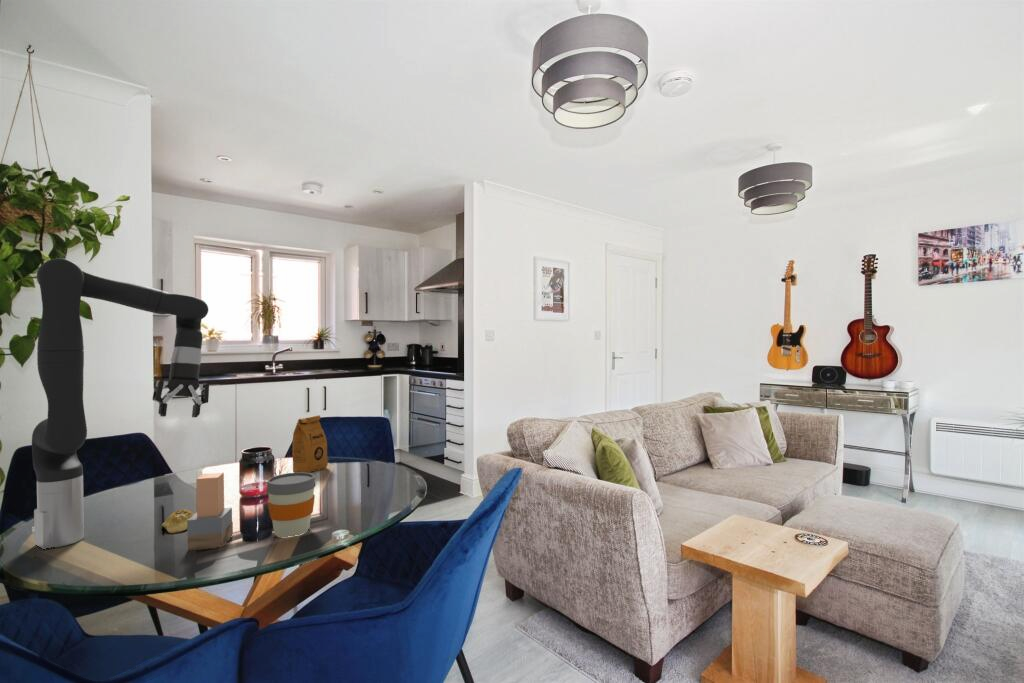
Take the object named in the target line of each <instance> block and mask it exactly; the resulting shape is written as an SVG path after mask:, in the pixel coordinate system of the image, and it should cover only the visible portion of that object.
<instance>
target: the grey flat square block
mask: <svg viewBox="0 0 1024 683" xmlns="http://www.w3.org/2000/svg"><path fill="white" fill-rule="evenodd" d="M232 522H233V507H224V510H223V511H222V512H221V513H220V514H219V516H207V517H197V511H196V512H195V513H194V515H193V516H192V517H191V518H189V519H188V520H187V530H186V531H187V534H186V535H187V537H188V536H192V535H205V534H217V533H222V532H223V531H224V530H225V529H226V528H227V527H228V526H229V525H230V524H231V523H232Z"/></svg>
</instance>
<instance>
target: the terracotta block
mask: <svg viewBox="0 0 1024 683" xmlns="http://www.w3.org/2000/svg"><path fill="white" fill-rule="evenodd" d="M224 475H225V474H224V472H213V473H212V472H211V473H202V474H200V476H198V477H197V478H196V481H195V482H196V512H197V517H207V516H219V514H220V513H221V512H222V511H223V510H224V508H225V480H224V479H225V476H224Z"/></svg>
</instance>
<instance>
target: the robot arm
mask: <svg viewBox="0 0 1024 683" xmlns="http://www.w3.org/2000/svg"><path fill="white" fill-rule="evenodd" d="M36 281H37V284H38V285H39V290H40V296H41V305H42V314H41V319H40V320H41V321H40V325H39V329H38V330H39V331H38V336H37V337H38V338H37V345H36V346H37V348H36V350H37V353H36V354H37V356H36V357H37V362H36V364H37V372H38V376H39V378H40V381H41V384H42V388H43V390H44V392H45V395H46V400H47V418H45V419H43V420H42V421H40V422H39V423H38V424H36V426H35V427H34V429H33V431H32V436H31V453H32V465H33V466H32V467H33V470H34V471H35V472H34V473H35V476H36V505H37V506H36V508H35V509H33V510H34V511H33V521H34V522H33V523H34V525H33V526H34V528H33V529H34V530H33V531H34V533H33V534H34V545H35V544H36V545H37V546H39V547H41V548H42V549H41V548H40V549H41V550H43V549H45V550H47V549H46V548H49V549H53V547H55V548H60V547H65V546H69V545H72V544H75V543H77V542H80V541H81V540H83V539H84V538H85V524H84V522H85V521H84V520H85V519H84V517H85V516H84V468H83V467H84V466H83V464H82V463H81V461H80V460H79V458H78V454H77V451H78V450H79V449H80V448H81V447H82V446H83V445H84V444H85V442H86V439H87V438H88V437H87V435H88V429H87V428H88V427H87V420H86V414H85V407H84V366H85V362H84V361H85V355H84V354H85V351H84V350H85V349H84V347H85V346H84V333H83V328H82V322H81V314H80V313H81V311H80V310H81V300H82V299H81V298H82V297H84V298H91V299H94V300H95V299H96V300H101V301H105V302H109V303H114V304H117V305H120V306H121V305H122V306H125V307H129V308H133V309H137V310H140V311H145V312H148V313H153V314H158V315H171V316H175V329H176V331H175V332H176V333H175V338H174V344H173V345H174V346H173V351H172V352H171V353H172V355H171V358H170V368H169V376H168V380H167V381H165V380H162V379H161V380H160V379H159V380H156V381H155V384H154V388H153V389H154V390H153V394H152V401H154V402H157V403H158V405H159V406H158V415H159V417H162V418H163V417H166V416H167V410H168V402H169V400H171V399H172V398H174V397H183V398H184V397H185V398H187V397H188V398H189V400H191V401H192V402H193V405H192V412H191V418H198V416H200V414H201V407H202V405H203V404H208V403H209V397H210V396H209V393H210V384H209V383H199V379H200V370H201V361H202V347H203V346H202V345H203V333H202V331H201V329H202V328H201V327H202V326H201V323H202V319H205V317H207V315H208V313H209V306H208V304H207V303H206V302H205V301H204V300H203V299H201V298H199V297H196V296H193V295H192V296H191V295H187V294H181V293H180V294H179V293H172V292H167V291H164V290H161V289H157V288H154V287H150V286H146V285H141V284H136V283H130V282H124V281H119V280H114V279H110V278H105V277H102V276H98V275H95V274H93V273H89V272H87V271H84V270H82V269H81V267H80V266H79V265H78V264H77V263H75V262H73V261H72V260H69V259H68V258H67V259H66V258H62V257H61V258H60V257H59V258H58V257H56V258H52V259H49V260H46V261H45V262H43V263H42V264H41V265H40V266H39V267H38V269H37V273H36ZM166 387H167V389H168V391H167V392H166V393H164V395H163V396H162V393H163V390H164V388H166ZM198 389H199V391H200V397H199V394H198V393H197V390H198ZM37 546H36V547H37ZM39 547H38V548H39ZM51 547H52V548H51Z"/></svg>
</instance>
